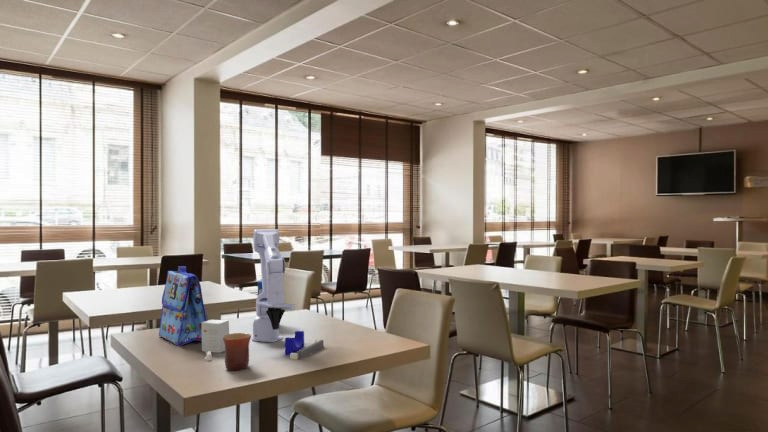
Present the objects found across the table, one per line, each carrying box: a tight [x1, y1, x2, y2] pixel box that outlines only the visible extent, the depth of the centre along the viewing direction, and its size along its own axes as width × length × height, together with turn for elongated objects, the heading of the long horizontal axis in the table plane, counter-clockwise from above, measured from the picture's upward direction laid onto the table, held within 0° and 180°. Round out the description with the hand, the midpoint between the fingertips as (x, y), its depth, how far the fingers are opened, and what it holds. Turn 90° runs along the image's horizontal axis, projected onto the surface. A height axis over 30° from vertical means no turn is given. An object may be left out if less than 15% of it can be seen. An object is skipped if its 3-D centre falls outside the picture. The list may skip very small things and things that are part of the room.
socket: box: [289, 339, 325, 361], centre depth 184 cm, size 4×19×2 cm, turn 161°
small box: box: [201, 319, 230, 354], centre depth 187 cm, size 8×6×10 cm
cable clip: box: [284, 330, 305, 356], centre depth 186 cm, size 12×4×6 cm, turn 171°
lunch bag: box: [158, 265, 208, 347], centre depth 205 cm, size 22×14×29 cm, turn 41°
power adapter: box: [204, 351, 213, 362], centre depth 175 cm, size 3×3×3 cm
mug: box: [223, 332, 252, 372], centre depth 166 cm, size 12×9×10 cm
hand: (275, 329), depth 188 cm, fingers closed
